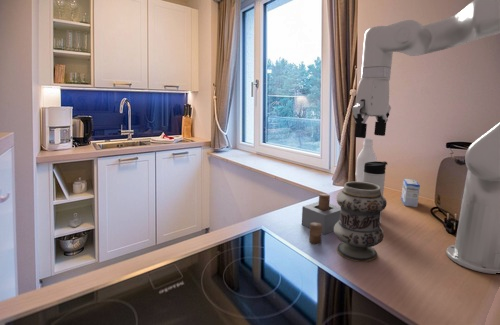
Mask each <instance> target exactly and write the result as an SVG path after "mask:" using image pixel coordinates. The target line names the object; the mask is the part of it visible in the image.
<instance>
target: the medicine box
mask: <svg viewBox="0 0 500 325" xmlns="http://www.w3.org/2000/svg"><path fill="white" fill-rule="evenodd" d="M420 187H421V185H420V183H419V182H418V181H417V179H412V178H411V179H410V178H403V181H402V187H401V188H402V189H401V198H400V199H401V202H402V203H403V205H404V206H405V207H413V208H417V207H418V204H419V195H420V190H421V188H420Z"/></svg>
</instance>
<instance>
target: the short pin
mask: <svg viewBox="0 0 500 325" xmlns="http://www.w3.org/2000/svg"><path fill="white" fill-rule="evenodd" d="M322 235H323V234H322V225H321V224H320V223H311V224H310V228H309V239H308V242H309V244H312V245H320V244H322Z"/></svg>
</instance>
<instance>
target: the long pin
mask: <svg viewBox="0 0 500 325" xmlns="http://www.w3.org/2000/svg"><path fill="white" fill-rule="evenodd" d="M330 198H331V194H328V193H319V195H318V202H319V207H318V209H319V210H322V211H327V210H329V204H330V203H331V202H330Z"/></svg>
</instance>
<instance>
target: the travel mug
mask: <svg viewBox="0 0 500 325" xmlns="http://www.w3.org/2000/svg"><path fill="white" fill-rule="evenodd" d="M387 166H388V162H387V161H378V160H377V161H376V162H367V163H365V165H364V168H365V169H364V174H363V182H367V183H372V184H376V185H378V186H379V187H380V192H381V195H382V196H383V197H384V189H385V188H384V187H385V180H386V168H387ZM381 218H382V211H380V221H381V220H382V219H381Z"/></svg>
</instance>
